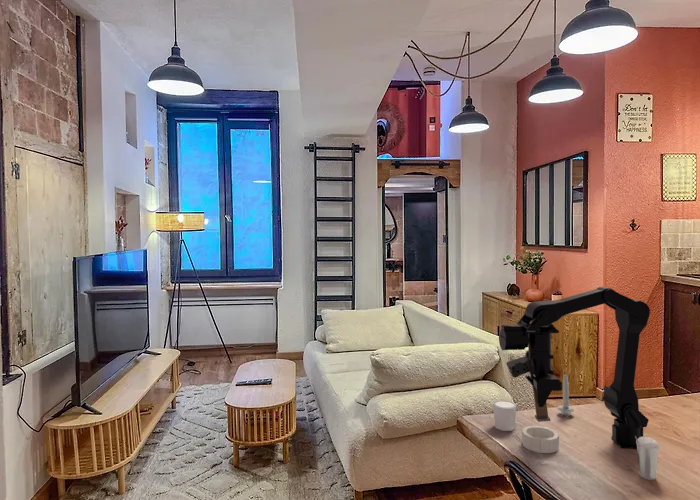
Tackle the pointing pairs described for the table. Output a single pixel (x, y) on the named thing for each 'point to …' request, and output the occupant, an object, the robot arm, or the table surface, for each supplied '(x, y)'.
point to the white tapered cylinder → (504, 415)
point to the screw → (565, 399)
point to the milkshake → (647, 457)
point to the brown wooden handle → (540, 410)
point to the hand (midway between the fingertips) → (540, 405)
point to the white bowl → (540, 439)
